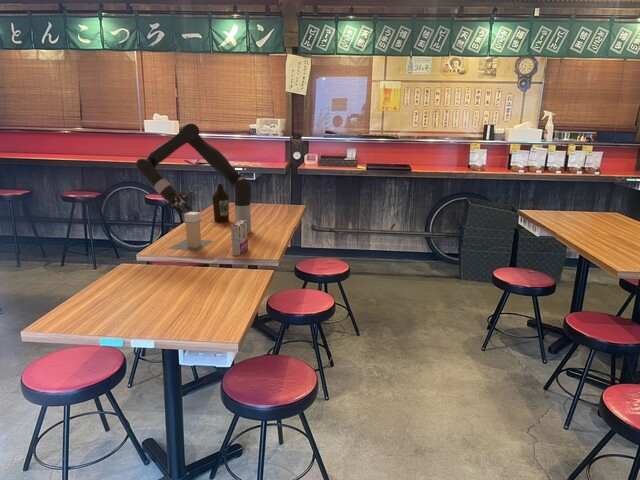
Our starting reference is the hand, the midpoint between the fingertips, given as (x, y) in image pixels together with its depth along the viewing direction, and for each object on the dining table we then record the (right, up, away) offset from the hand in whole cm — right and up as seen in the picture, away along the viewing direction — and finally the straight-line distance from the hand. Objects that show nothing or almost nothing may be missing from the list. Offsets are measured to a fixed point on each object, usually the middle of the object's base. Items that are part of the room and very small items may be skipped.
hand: (186, 211), depth 259 cm
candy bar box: (+29, -22, -2) cm, 37 cm away
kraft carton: (+3, -18, +4) cm, 19 cm away
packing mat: (+1, -19, +7) cm, 20 cm away
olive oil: (+6, -3, +63) cm, 64 cm away
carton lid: (+3, -6, +1) cm, 7 cm away
